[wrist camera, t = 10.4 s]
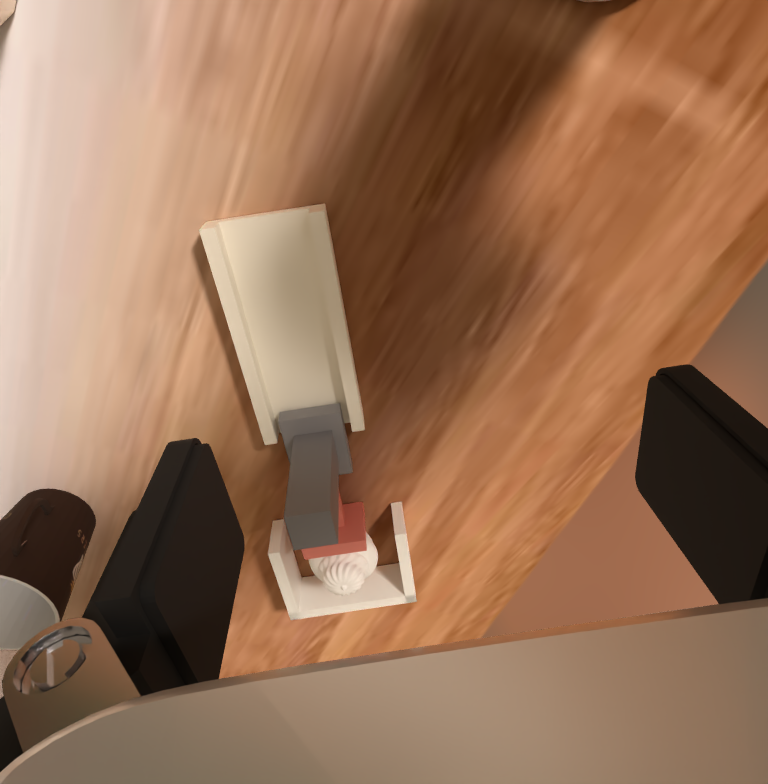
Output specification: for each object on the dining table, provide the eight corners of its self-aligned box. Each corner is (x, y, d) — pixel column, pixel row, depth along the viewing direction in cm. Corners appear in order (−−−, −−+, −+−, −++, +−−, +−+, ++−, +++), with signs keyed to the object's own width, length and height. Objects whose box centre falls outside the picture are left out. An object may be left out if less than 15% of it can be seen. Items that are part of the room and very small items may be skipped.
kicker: (342, 402, 43) (343, 490, 34) (364, 510, 49) (370, 609, 40) (277, 412, 43) (260, 502, 34) (307, 519, 49) (299, 620, 40)
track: (325, 203, 36) (324, 210, 34) (363, 414, 45) (364, 430, 43) (206, 221, 36) (198, 229, 34) (268, 429, 45) (264, 445, 43)
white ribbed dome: (321, 499, 49) (318, 558, 43) (384, 512, 50) (390, 572, 44) (303, 546, 52) (298, 608, 46) (363, 557, 53) (366, 619, 47)
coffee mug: (70, 564, 51) (16, 664, 42) (-17, 514, 47) (-96, 613, 39) (151, 500, 48) (109, 594, 39) (64, 441, 44) (-3, 531, 35)
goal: (401, 501, 50) (406, 533, 46) (411, 568, 54) (416, 601, 51) (272, 520, 50) (267, 553, 46) (293, 585, 54) (290, 620, 51)
